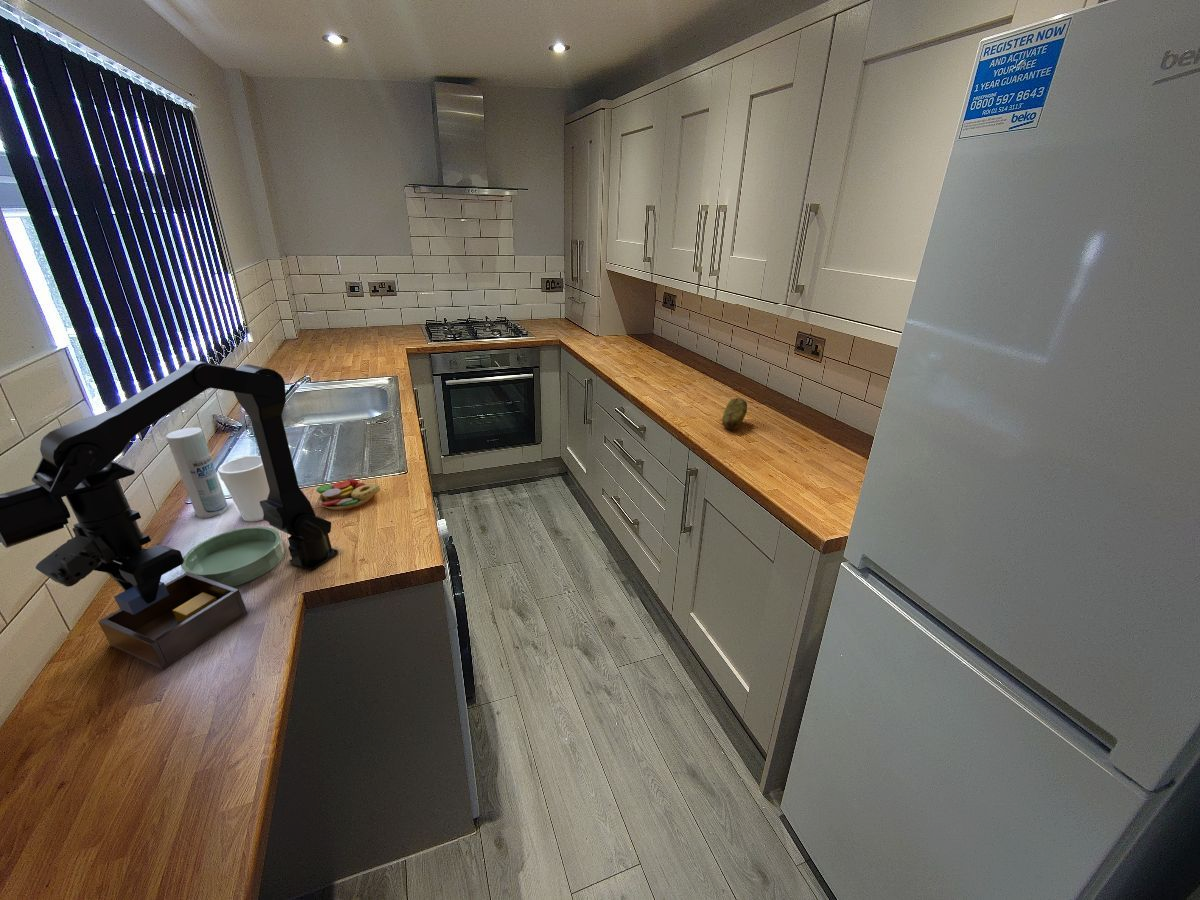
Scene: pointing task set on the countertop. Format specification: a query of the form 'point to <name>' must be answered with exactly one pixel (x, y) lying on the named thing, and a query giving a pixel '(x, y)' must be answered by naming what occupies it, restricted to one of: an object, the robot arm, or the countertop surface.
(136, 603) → the blue gray block
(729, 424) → the olive green oval lump
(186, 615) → the yellow block
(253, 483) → the foam cup
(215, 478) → the spray can
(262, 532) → the bowl
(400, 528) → the countertop surface
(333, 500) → the toy food set
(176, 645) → the holder
